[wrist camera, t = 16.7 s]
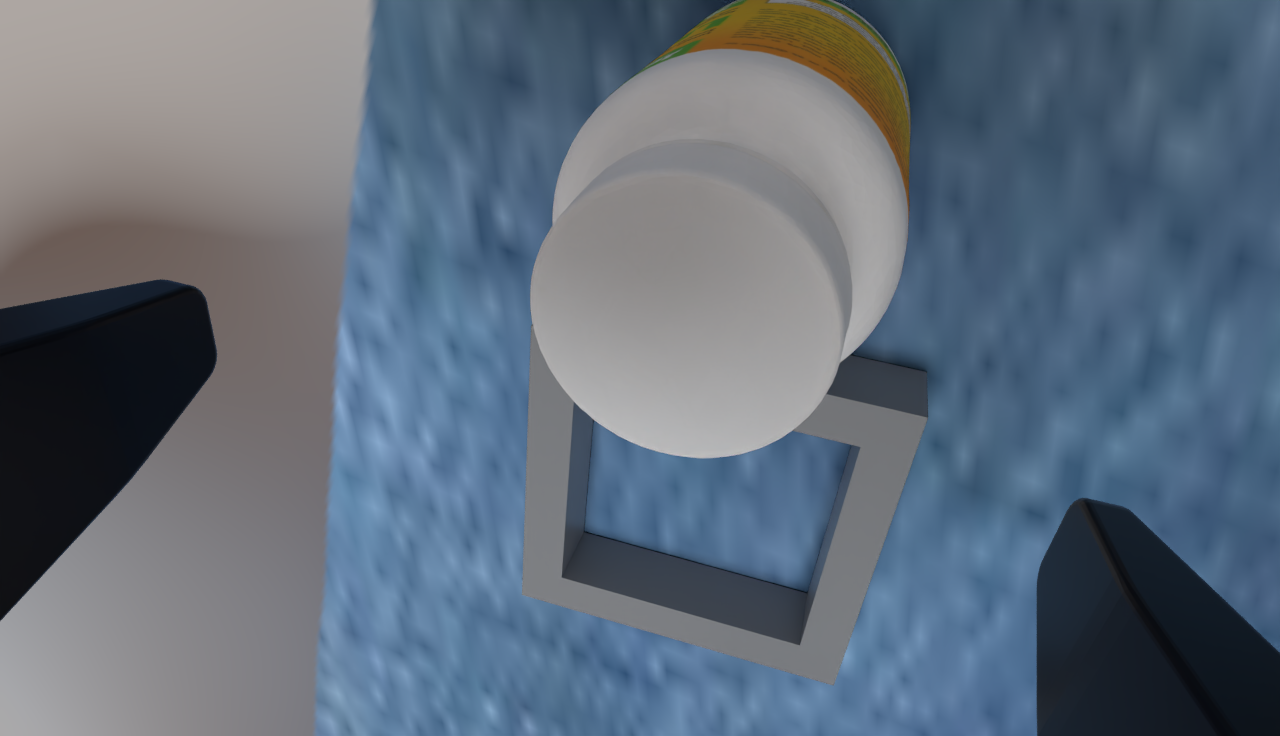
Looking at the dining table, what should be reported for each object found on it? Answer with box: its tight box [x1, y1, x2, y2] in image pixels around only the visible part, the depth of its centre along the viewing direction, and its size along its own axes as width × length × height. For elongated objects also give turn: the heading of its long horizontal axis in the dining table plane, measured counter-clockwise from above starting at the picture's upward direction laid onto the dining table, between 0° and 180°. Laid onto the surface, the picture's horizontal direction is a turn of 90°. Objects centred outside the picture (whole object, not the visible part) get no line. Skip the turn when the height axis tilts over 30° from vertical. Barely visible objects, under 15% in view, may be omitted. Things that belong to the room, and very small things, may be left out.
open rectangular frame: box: [522, 324, 928, 685], centre depth 23 cm, size 9×9×2 cm
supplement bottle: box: [530, 0, 911, 458], centre depth 14 cm, size 5×5×10 cm
